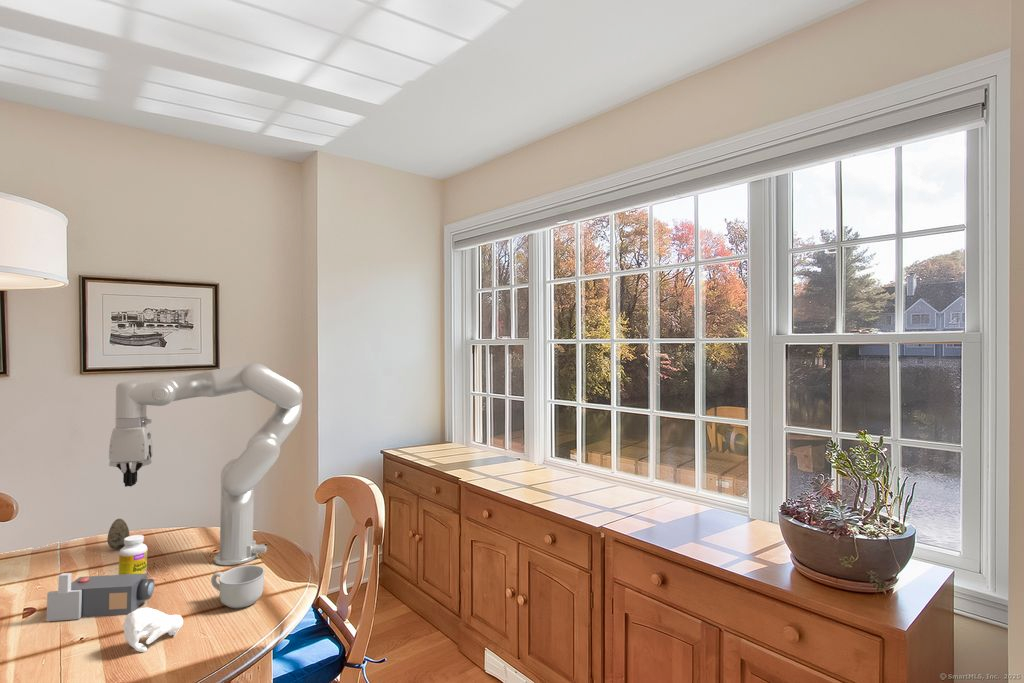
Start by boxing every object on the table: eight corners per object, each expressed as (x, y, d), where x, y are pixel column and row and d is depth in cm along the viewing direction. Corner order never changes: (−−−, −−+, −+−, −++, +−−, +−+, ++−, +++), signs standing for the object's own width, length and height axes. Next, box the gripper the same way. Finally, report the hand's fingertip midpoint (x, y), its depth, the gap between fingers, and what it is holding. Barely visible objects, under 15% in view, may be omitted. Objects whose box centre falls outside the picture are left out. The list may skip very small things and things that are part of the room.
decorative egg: (131, 548, 181) (132, 518, 181) (109, 553, 176) (110, 522, 176) (126, 544, 184) (127, 514, 185) (105, 549, 180) (105, 518, 180)
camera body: (156, 599, 145) (157, 570, 145) (141, 613, 137) (142, 583, 137) (79, 603, 142) (80, 574, 142) (59, 618, 134) (60, 587, 134)
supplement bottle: (132, 588, 151) (133, 542, 151) (112, 586, 152) (113, 540, 152) (152, 578, 157) (153, 534, 158) (133, 576, 159) (134, 532, 159)
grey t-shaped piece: (81, 616, 135) (82, 572, 135) (78, 619, 133) (79, 574, 133) (49, 618, 133) (51, 573, 134) (46, 621, 132) (47, 576, 132)
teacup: (272, 597, 147) (273, 568, 147) (240, 616, 136) (241, 584, 136) (233, 589, 151) (233, 561, 151) (199, 607, 141) (199, 576, 141)
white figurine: (121, 608, 121) (179, 594, 131) (116, 648, 121) (174, 631, 130) (132, 617, 118) (191, 602, 127) (127, 658, 117) (186, 640, 127)
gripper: (164, 421, 166) (163, 481, 166) (108, 422, 163) (108, 483, 162) (153, 424, 158) (153, 487, 158) (95, 425, 155) (94, 490, 155)
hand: (130, 485), depth 160 cm, fingers closed
